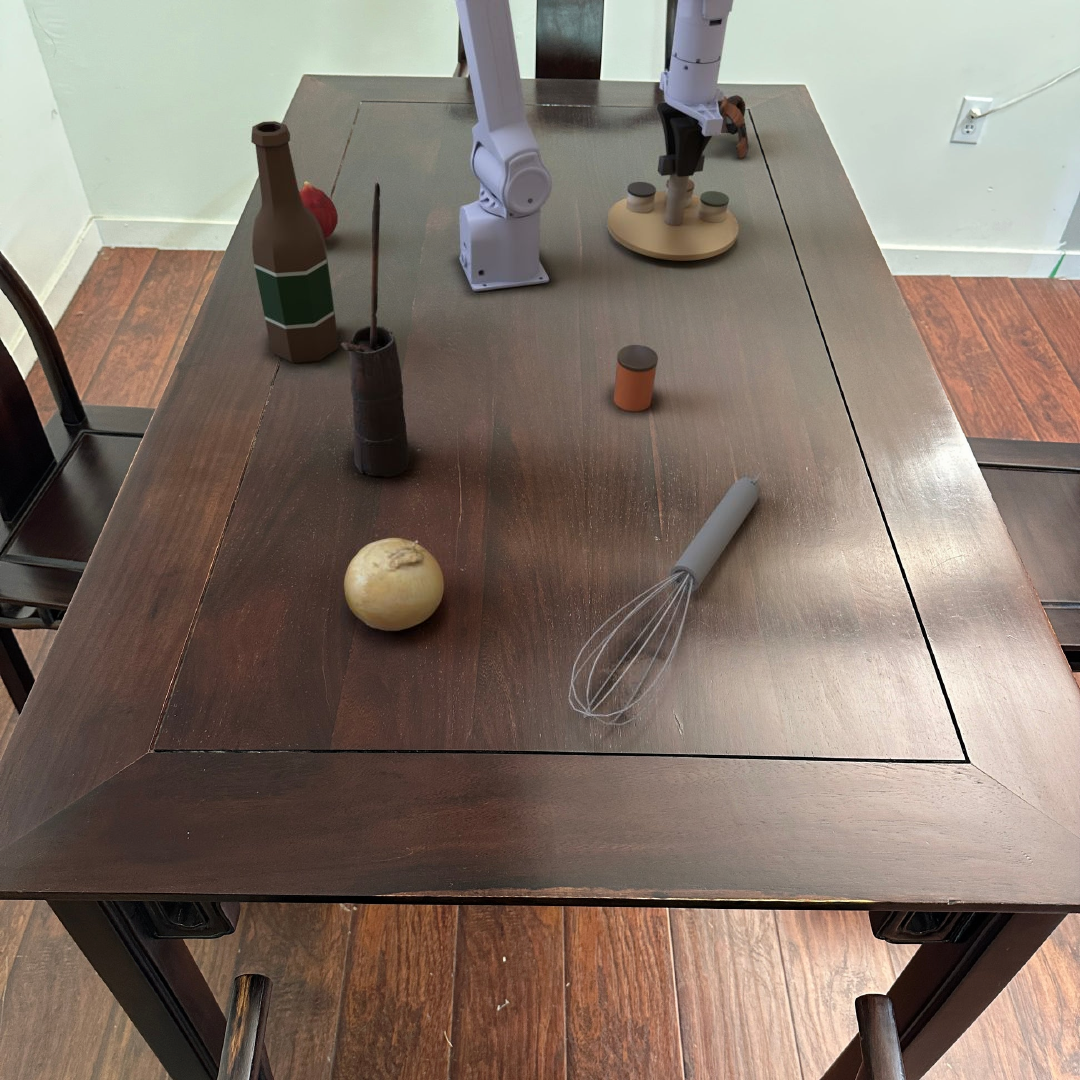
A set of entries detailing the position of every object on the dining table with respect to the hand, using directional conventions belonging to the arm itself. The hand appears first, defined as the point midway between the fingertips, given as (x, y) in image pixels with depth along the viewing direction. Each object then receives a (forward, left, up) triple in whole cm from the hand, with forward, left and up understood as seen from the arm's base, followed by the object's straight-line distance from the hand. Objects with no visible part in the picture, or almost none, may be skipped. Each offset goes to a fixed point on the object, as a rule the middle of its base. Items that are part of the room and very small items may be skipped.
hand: (680, 169), depth 120 cm
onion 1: (-45, +8, -9) cm, 47 cm away
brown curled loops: (+17, +24, -9) cm, 31 cm away
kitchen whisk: (-23, -59, -9) cm, 64 cm away
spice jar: (-17, -32, -9) cm, 37 cm away
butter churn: (-45, -36, -9) cm, 58 cm away
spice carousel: (0, 0, -8) cm, 8 cm away
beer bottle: (-49, -14, -9) cm, 52 cm away
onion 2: (-46, -54, -9) cm, 72 cm away
